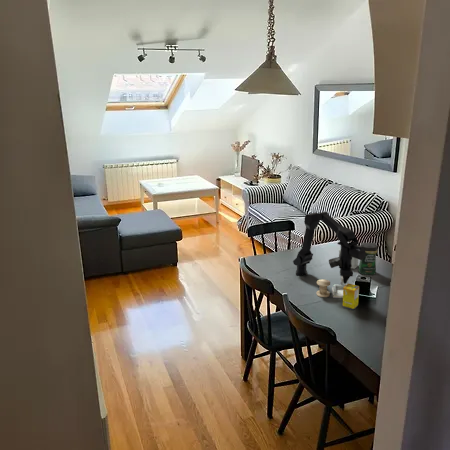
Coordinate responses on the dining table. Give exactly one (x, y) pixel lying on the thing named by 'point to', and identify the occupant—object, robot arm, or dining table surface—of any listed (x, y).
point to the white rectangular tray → (337, 291)
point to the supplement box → (350, 296)
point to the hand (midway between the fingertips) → (344, 281)
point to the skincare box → (353, 262)
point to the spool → (323, 288)
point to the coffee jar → (368, 259)
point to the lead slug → (343, 281)
